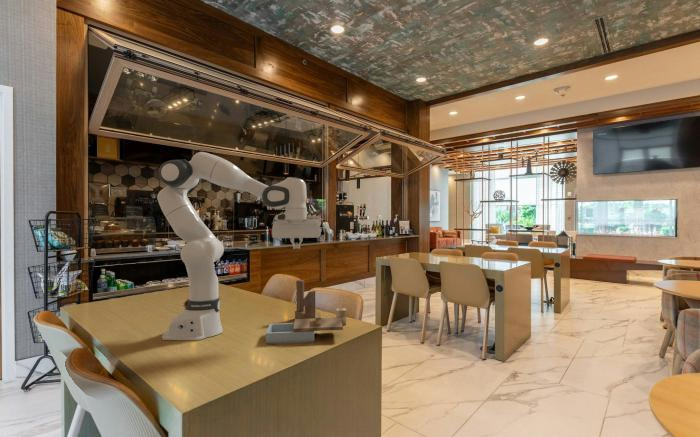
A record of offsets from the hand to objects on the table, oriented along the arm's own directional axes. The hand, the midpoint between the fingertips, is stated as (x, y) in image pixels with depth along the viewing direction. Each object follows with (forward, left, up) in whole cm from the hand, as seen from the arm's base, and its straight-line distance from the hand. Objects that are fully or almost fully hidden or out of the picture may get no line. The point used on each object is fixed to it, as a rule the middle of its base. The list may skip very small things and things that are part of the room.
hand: (296, 248), depth 144 cm
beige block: (+19, +6, -34) cm, 40 cm away
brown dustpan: (+3, +14, -34) cm, 37 cm away
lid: (+9, -9, -30) cm, 32 cm away
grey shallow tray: (-2, -9, -34) cm, 35 cm away
